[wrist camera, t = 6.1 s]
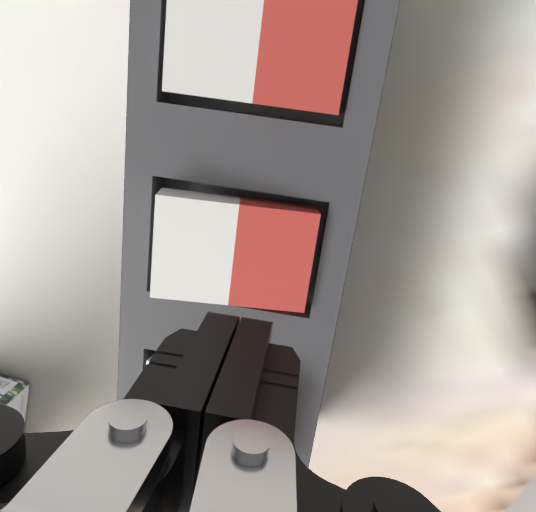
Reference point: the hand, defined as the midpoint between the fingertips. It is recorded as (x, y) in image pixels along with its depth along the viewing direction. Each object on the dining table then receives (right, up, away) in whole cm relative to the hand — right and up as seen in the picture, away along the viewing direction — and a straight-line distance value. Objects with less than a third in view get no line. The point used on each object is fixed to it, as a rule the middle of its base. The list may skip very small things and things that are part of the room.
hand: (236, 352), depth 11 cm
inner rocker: (0, +10, +5) cm, 11 cm away
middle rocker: (-1, +3, +8) cm, 8 cm away
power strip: (0, +4, +12) cm, 13 cm away
